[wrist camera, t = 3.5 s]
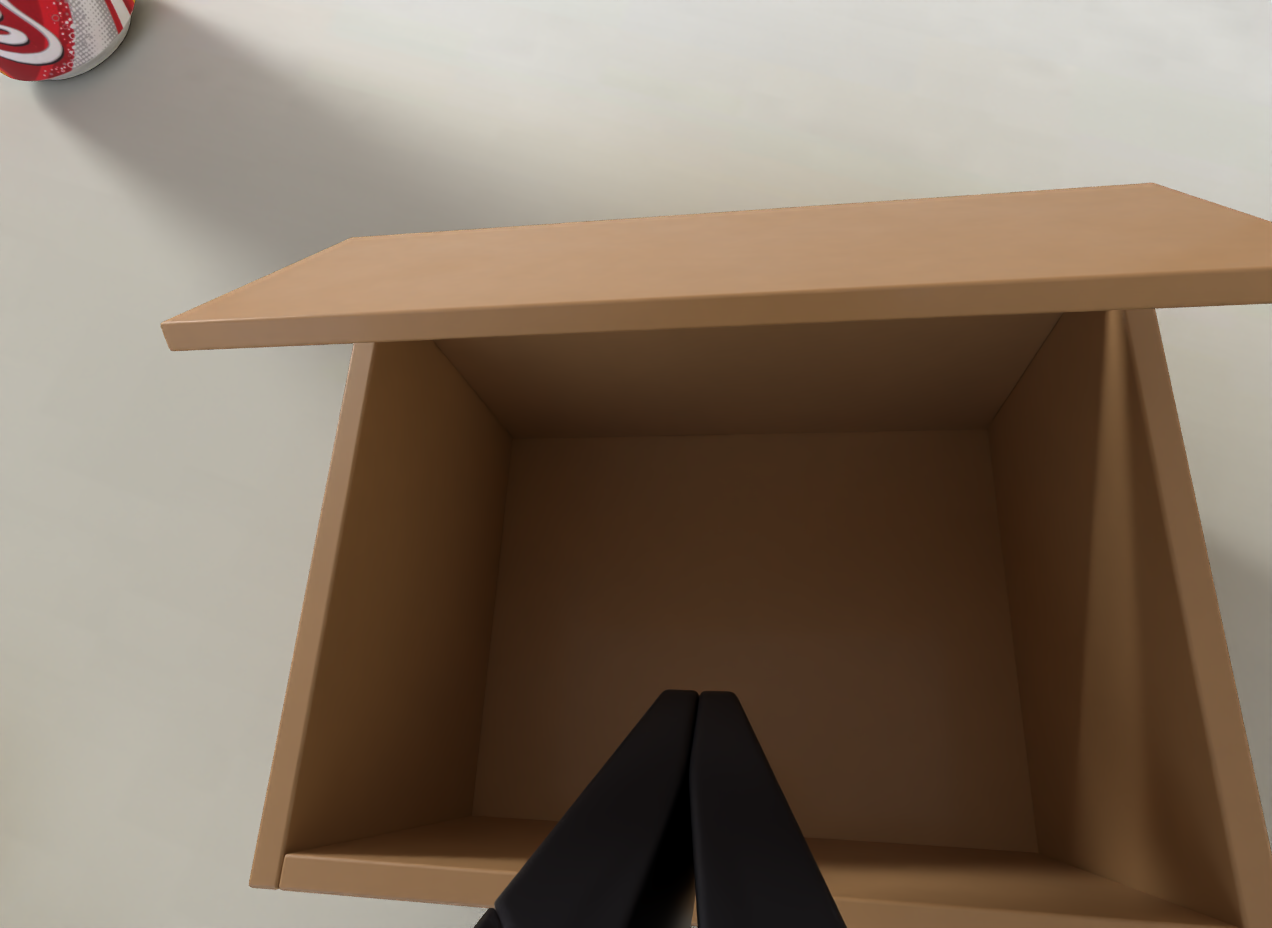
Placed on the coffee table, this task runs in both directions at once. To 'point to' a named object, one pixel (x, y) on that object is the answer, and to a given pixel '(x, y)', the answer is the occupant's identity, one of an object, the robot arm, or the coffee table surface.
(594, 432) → the carton
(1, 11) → the soda can
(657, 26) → the coffee table surface
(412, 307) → the carton flap
